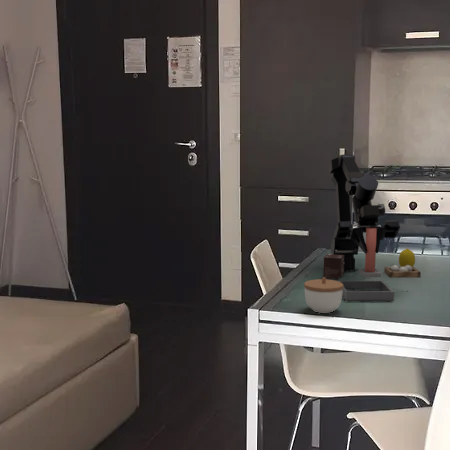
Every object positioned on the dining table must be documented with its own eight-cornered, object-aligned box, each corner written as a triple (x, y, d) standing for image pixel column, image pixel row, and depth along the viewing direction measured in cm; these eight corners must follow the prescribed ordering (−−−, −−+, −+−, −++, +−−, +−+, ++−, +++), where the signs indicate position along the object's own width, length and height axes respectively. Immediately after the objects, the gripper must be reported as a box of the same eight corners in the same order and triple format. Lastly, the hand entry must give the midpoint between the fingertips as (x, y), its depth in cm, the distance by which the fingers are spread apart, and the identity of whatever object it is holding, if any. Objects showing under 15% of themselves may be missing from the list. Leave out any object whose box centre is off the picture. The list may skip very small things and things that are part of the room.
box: (340, 280, 235) (341, 258, 234) (322, 278, 237) (323, 257, 236) (344, 276, 241) (344, 254, 240) (326, 274, 243) (326, 253, 242)
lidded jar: (295, 310, 198) (296, 277, 197) (319, 303, 206) (320, 271, 204) (326, 318, 191) (327, 284, 189) (350, 310, 198) (351, 277, 197)
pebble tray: (390, 279, 236) (390, 272, 235) (384, 274, 243) (384, 267, 243) (420, 279, 236) (420, 272, 235) (413, 274, 244) (413, 267, 243)
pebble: (404, 274, 239) (404, 266, 239) (402, 272, 242) (402, 264, 241) (413, 274, 239) (413, 266, 239) (410, 272, 242) (411, 264, 242)
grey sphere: (391, 274, 239) (391, 266, 238) (389, 272, 242) (389, 264, 241) (400, 274, 239) (400, 266, 238) (398, 272, 242) (398, 264, 241)
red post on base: (359, 273, 217) (360, 226, 214) (375, 272, 217) (376, 226, 215) (364, 277, 211) (365, 230, 208) (380, 277, 211) (382, 229, 209)
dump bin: (337, 290, 221) (337, 280, 221) (382, 290, 222) (382, 280, 221) (345, 302, 207) (346, 292, 207) (393, 301, 208) (394, 291, 207)
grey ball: (399, 276, 237) (400, 267, 236) (397, 274, 240) (397, 265, 239) (408, 276, 237) (409, 267, 236) (406, 274, 240) (406, 265, 239)
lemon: (416, 272, 246) (417, 249, 245) (400, 272, 246) (401, 249, 245) (412, 269, 251) (413, 247, 250) (396, 269, 251) (397, 246, 250)
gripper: (338, 194, 213) (345, 237, 204) (399, 194, 214) (409, 236, 205) (331, 216, 222) (338, 258, 213) (390, 216, 223) (400, 258, 214)
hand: (371, 252), depth 211 cm, fingers closed on red post on base, 3 cm apart
